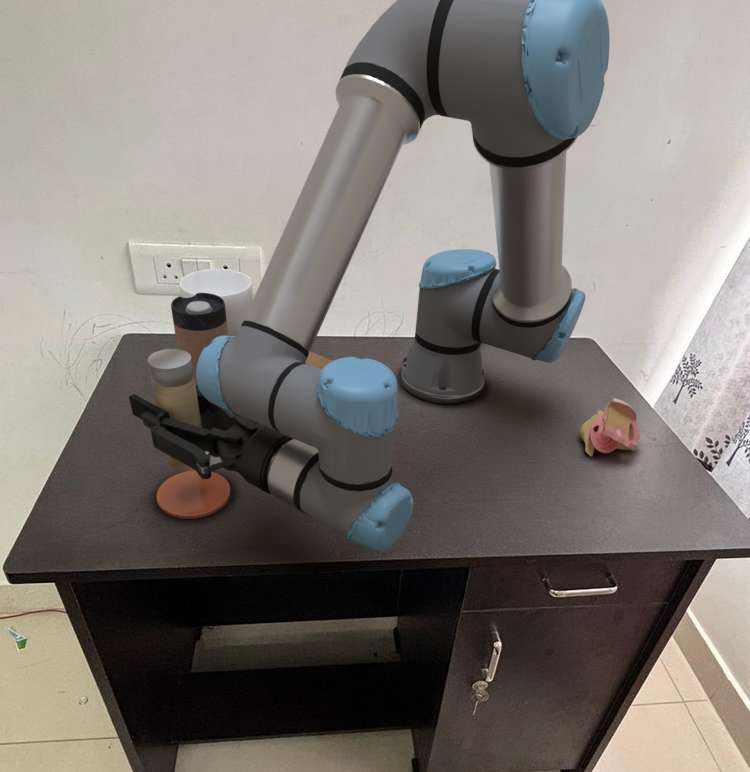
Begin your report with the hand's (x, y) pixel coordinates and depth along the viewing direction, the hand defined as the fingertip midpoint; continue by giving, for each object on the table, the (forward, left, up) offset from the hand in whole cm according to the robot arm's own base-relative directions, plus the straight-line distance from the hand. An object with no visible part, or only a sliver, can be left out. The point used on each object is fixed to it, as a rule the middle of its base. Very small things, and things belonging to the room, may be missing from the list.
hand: (151, 395), depth 82 cm
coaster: (-1, +5, -14) cm, 15 cm away
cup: (-21, -22, -14) cm, 34 cm away
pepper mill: (0, 0, -5) cm, 5 cm away
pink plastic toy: (-60, +33, -14) cm, 70 cm away
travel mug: (-12, -10, -14) cm, 21 cm away
